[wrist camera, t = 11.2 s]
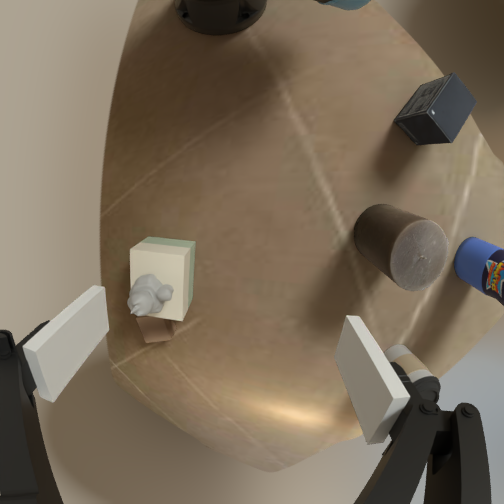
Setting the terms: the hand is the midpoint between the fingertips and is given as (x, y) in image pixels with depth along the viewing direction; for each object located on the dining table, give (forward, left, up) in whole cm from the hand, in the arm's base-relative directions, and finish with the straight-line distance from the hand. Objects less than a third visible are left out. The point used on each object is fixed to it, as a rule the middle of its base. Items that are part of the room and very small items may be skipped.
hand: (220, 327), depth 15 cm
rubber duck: (+9, -11, -24) cm, 28 cm away
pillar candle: (-1, +23, -32) cm, 39 cm away
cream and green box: (+9, -11, -32) cm, 35 cm away
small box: (-23, +28, -32) cm, 48 cm away
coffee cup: (+24, +34, -32) cm, 52 cm away
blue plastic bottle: (+1, +46, -32) cm, 56 cm away
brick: (+19, -13, -32) cm, 39 cm away
